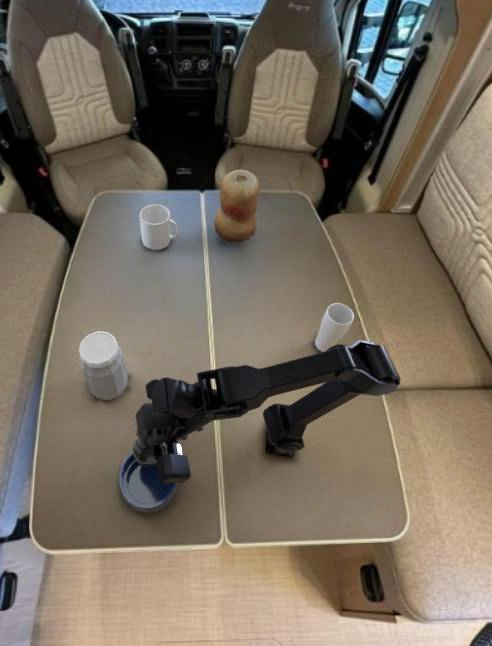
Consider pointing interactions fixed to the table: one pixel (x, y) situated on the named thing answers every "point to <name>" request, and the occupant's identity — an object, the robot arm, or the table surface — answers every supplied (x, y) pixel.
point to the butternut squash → (237, 207)
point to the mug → (156, 226)
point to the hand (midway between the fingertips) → (139, 445)
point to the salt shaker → (138, 448)
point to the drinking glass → (334, 326)
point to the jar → (103, 365)
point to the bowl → (144, 486)
